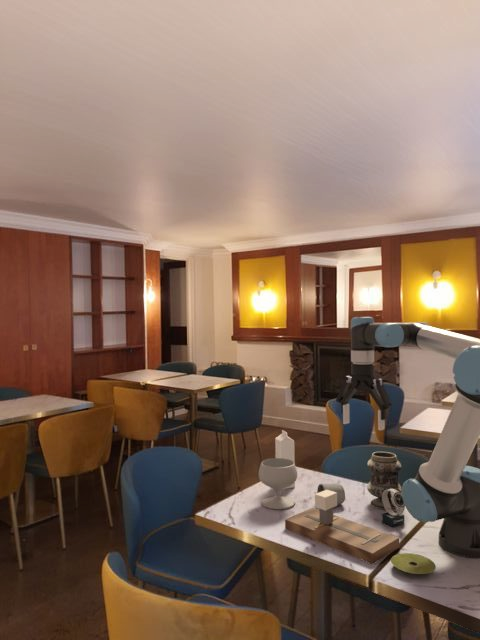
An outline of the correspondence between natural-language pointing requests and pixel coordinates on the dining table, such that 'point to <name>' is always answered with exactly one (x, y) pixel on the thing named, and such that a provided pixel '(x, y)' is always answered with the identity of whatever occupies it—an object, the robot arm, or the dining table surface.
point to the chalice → (278, 481)
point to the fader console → (344, 535)
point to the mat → (413, 563)
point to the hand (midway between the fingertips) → (363, 426)
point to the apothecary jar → (383, 476)
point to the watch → (391, 516)
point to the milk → (285, 449)
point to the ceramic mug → (334, 488)
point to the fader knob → (326, 505)
